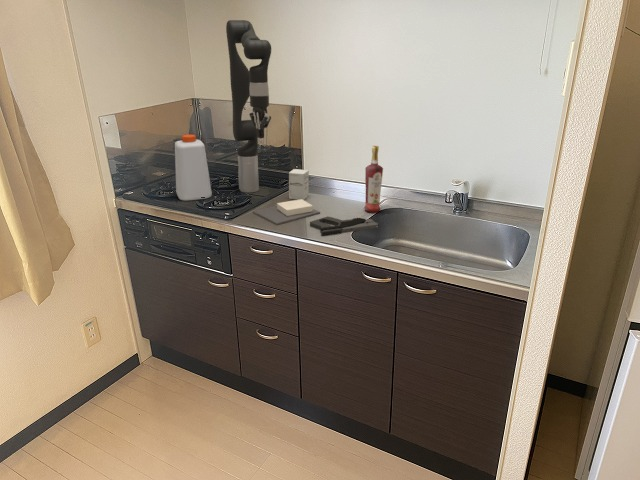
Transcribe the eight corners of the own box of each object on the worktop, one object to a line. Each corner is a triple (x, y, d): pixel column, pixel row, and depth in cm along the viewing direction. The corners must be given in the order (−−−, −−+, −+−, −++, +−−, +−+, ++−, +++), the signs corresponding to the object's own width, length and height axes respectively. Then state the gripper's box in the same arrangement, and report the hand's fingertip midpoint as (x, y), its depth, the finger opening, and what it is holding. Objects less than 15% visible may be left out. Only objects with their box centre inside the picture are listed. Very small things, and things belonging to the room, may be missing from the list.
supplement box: (288, 199, 232) (288, 172, 227) (294, 194, 238) (293, 168, 233) (303, 200, 230) (303, 173, 225) (309, 196, 236) (309, 169, 231)
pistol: (307, 218, 203) (319, 232, 190) (364, 211, 211) (381, 224, 198) (307, 224, 204) (319, 237, 191) (364, 216, 212) (380, 229, 199)
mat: (253, 213, 214) (252, 211, 214) (294, 202, 227) (294, 201, 226) (277, 225, 201) (277, 223, 201) (320, 213, 214) (320, 211, 214)
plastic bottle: (213, 198, 231) (208, 137, 220) (179, 202, 226) (173, 140, 215) (207, 189, 244) (202, 131, 233) (175, 192, 239) (169, 133, 228)
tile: (276, 203, 215) (301, 199, 220) (277, 209, 216) (302, 205, 221) (286, 210, 207) (312, 205, 212) (287, 216, 208) (312, 212, 213)
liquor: (368, 214, 213) (371, 148, 202) (360, 209, 220) (363, 145, 209) (383, 212, 216) (387, 147, 205) (375, 207, 222) (379, 143, 211)
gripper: (276, 95, 197) (277, 139, 204) (258, 91, 206) (259, 134, 213) (260, 96, 192) (261, 141, 199) (242, 93, 202) (244, 136, 209)
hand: (260, 137), depth 206 cm, fingers closed
